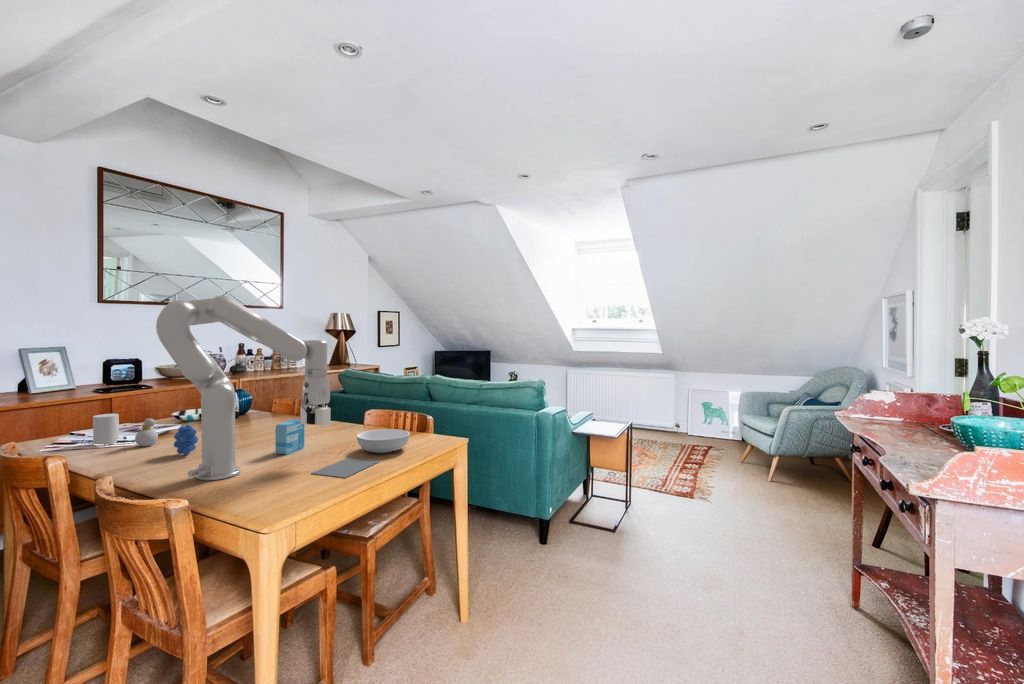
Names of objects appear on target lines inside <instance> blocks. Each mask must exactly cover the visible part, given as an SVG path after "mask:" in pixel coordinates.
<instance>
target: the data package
mask: <svg viewBox="0 0 1024 684" xmlns="http://www.w3.org/2000/svg"><path fill="white" fill-rule="evenodd" d="M303 448H305V424H300V419H295V418H294V419H289V420H287V421H284V422H280V423H277V424H276V426H275V454H276V455H284V456H285V455H290V454H293V453H295V452H298V451H301V450H302V449H303Z"/></svg>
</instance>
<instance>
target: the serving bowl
mask: <svg viewBox="0 0 1024 684" xmlns="http://www.w3.org/2000/svg"><path fill="white" fill-rule="evenodd" d="M410 435H411V434H410V432H409V431H407V430H404V429H397V428H395V429H393V428H391V429H390V428H389V429H388V428H385V429H380V428H379V429H372V430H367V431H363V432H360V433H357V435H356V440H357V443H358V445H359V447H361V448H362V450H365V451H366V452H371V453H374V454H388V453H389V454H390V453H392V451H393V452H394V451H398V450H400V449H402V448H403V447H404V446H406V445H407V444H408V442H409V440H410Z"/></svg>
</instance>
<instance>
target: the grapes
mask: <svg viewBox="0 0 1024 684" xmlns="http://www.w3.org/2000/svg"><path fill="white" fill-rule="evenodd" d="M197 433H198V431H197V429H196V428H193V426H192V425H191V424H186V425H181V426H179V427H178V429H177V432H176V433H174V436H173V438H174V439H175V441H174V443H173V446H174V447H175V448H177V449H176V453H178V454H182V455H184V456H188V455H189V454H191V452H193V451H195V449H196V448H197V446H196V445H197V443H198V441H199V437H198V436H197Z"/></svg>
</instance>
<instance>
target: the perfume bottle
mask: <svg viewBox="0 0 1024 684" xmlns="http://www.w3.org/2000/svg"><path fill="white" fill-rule="evenodd" d="M155 424H156V420H155V419H154V418H148V417H146V418H145V419H144V421H143V424H141V426H142V427H141V430H139V431H138V432H137V433H136V434H135V437H134V441H135V443H136V445H138V446H139V447H151V446H153V445H154V444H156V443H157V441H158V439H159V434H158V432H157V431H156V430H155V429H153V428H152V427H153V426H154V425H155Z"/></svg>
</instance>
